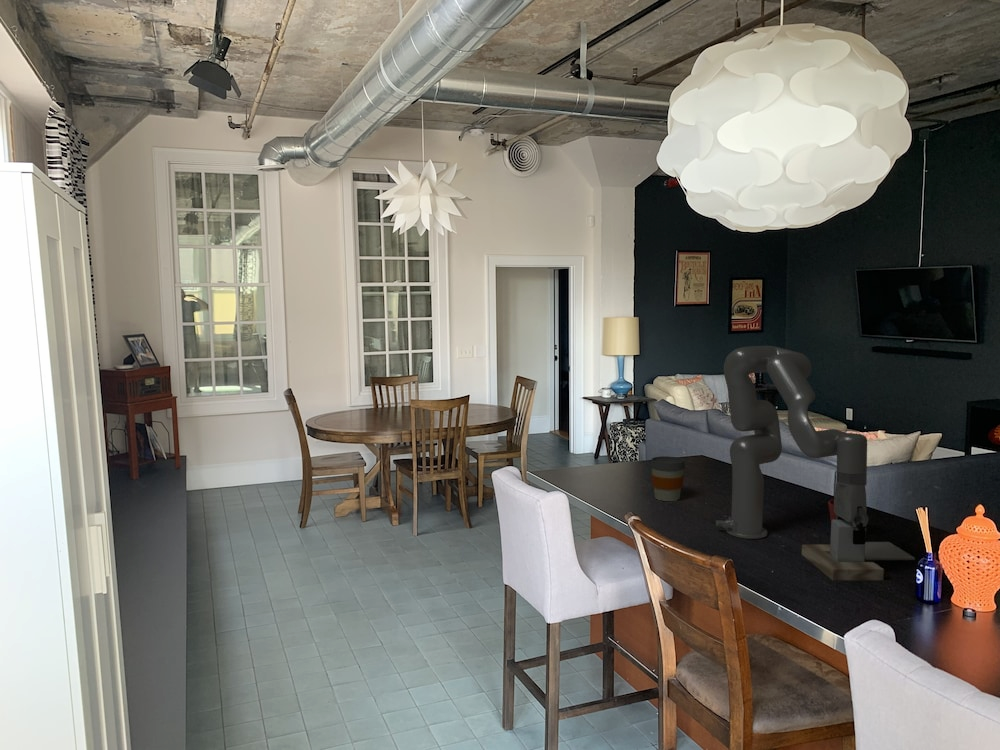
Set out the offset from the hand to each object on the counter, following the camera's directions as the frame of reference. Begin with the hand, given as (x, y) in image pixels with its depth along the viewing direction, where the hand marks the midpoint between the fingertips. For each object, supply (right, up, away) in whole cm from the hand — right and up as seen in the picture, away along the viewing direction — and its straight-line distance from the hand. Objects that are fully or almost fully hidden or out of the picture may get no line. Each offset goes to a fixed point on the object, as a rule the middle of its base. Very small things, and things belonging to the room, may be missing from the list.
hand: (850, 538), depth 203 cm
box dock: (-2, -8, +1) cm, 9 cm away
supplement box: (0, -8, +1) cm, 9 cm away
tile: (+15, -7, +13) cm, 21 cm away
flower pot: (+14, -5, +31) cm, 35 cm away
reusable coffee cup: (-35, -1, +72) cm, 80 cm away
